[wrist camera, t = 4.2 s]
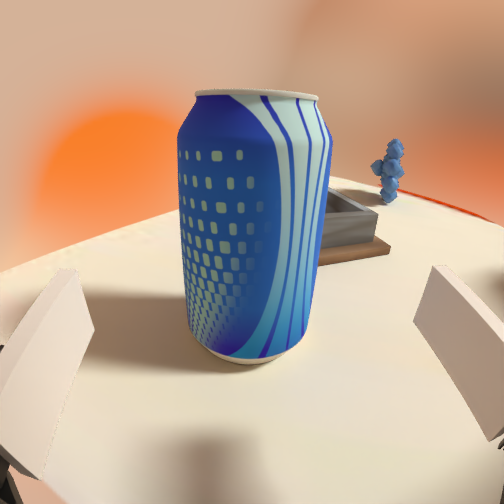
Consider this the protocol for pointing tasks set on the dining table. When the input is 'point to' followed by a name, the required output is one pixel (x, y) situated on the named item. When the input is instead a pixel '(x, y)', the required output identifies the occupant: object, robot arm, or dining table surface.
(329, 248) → the holder
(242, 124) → the beer can
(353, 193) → the dining table surface
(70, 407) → the dining table surface
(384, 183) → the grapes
